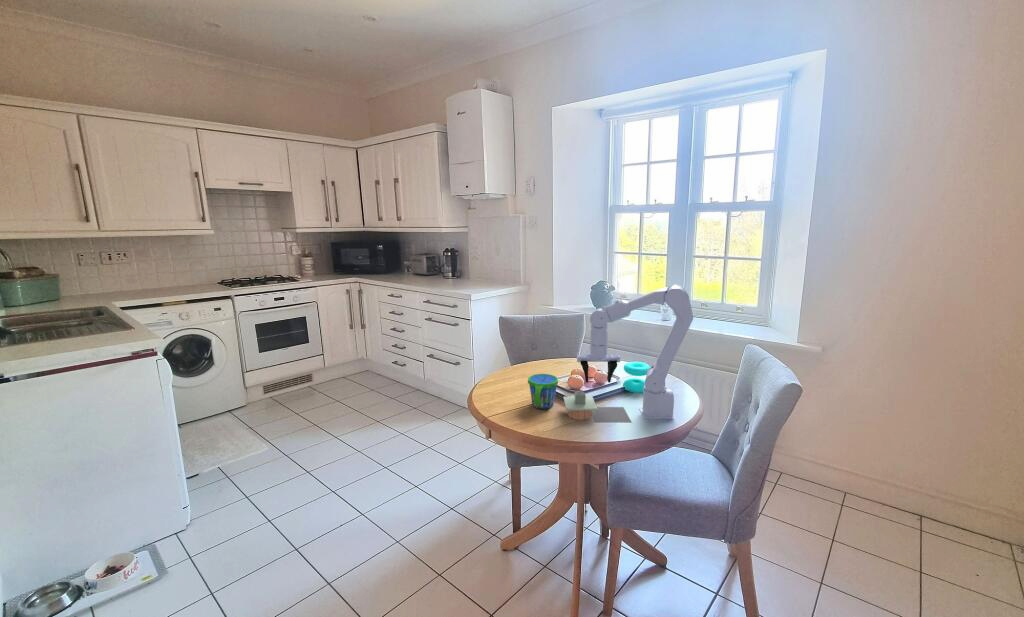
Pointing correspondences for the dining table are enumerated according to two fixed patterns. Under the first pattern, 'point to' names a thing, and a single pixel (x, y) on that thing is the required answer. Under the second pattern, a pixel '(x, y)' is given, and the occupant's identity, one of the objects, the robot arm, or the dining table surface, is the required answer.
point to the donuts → (635, 370)
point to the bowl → (579, 414)
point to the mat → (610, 414)
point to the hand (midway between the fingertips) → (597, 381)
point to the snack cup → (543, 390)
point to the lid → (580, 402)
